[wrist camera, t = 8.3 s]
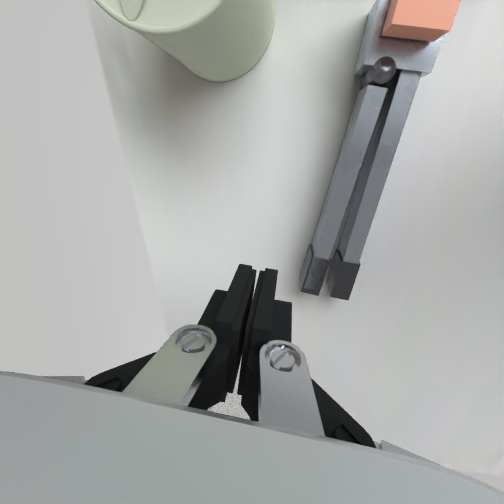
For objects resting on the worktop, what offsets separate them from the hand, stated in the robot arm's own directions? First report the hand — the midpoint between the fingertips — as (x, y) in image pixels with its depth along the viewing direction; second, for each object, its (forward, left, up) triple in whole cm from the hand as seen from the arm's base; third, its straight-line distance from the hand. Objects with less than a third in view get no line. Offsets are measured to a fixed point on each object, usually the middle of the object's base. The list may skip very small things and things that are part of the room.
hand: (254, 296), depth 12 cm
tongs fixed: (-7, -4, -17) cm, 19 cm away
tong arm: (-5, -2, -17) cm, 17 cm away
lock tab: (-7, -15, -13) cm, 21 cm away
